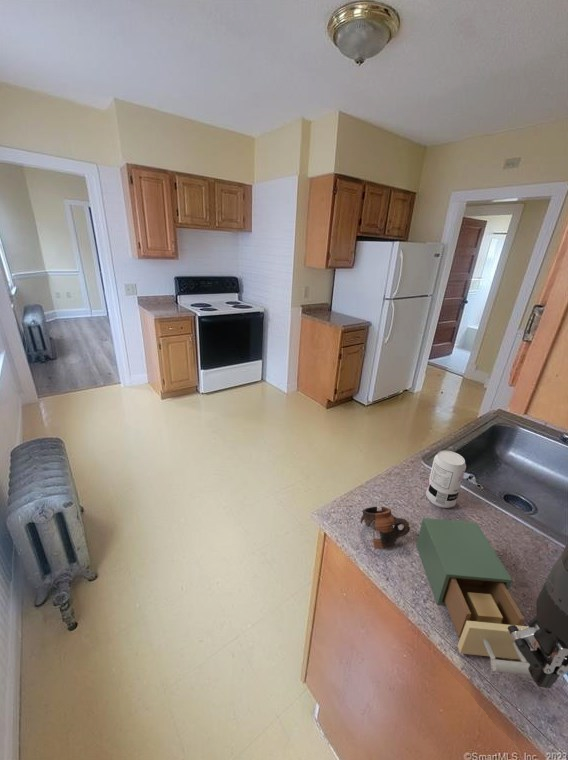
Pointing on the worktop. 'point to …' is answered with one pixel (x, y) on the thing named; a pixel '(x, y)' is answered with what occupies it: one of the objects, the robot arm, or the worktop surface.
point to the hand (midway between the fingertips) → (539, 679)
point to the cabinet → (457, 555)
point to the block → (483, 608)
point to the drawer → (486, 624)
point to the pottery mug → (385, 526)
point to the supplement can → (445, 479)
